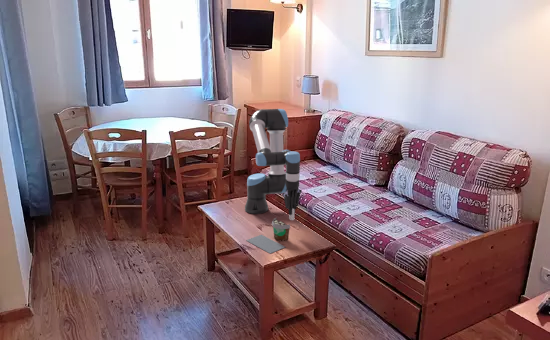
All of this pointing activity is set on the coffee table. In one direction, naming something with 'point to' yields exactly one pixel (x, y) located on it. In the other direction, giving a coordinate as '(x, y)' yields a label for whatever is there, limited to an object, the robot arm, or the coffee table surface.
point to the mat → (265, 244)
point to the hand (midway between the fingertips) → (291, 219)
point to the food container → (280, 230)
